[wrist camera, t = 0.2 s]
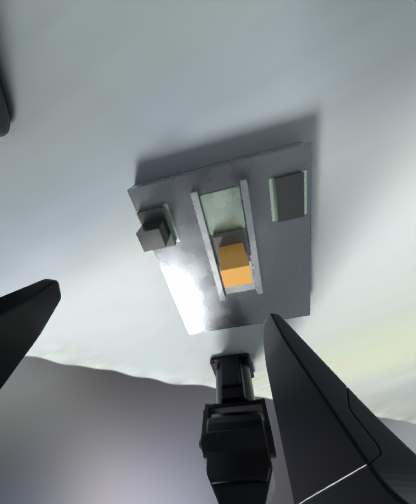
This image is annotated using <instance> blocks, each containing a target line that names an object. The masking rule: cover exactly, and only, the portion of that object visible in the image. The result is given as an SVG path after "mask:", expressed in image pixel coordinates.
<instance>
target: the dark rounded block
mask: <svg viewBox="0 0 416 504" xmlns="http://www.w3.org/2000/svg"><path fill="white" fill-rule="evenodd" d="M9 129H10V116H9V112H8V108H7V105H6V101H5V98H4V95H3V91H2V88H1V85H0V137H2V136H5V135H6V134H7V133H8V132H9Z"/></svg>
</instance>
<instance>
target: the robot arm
mask: <svg viewBox="0 0 416 504" xmlns="http://www.w3.org/2000/svg"><path fill="white" fill-rule="evenodd" d="M60 299H61V293H60V288H59V283H58V281H56V280H51V279H44V280H41V281H39V282H36V283H34V284H32V285H29V286H27V287H24V288H22V289H19V290H17V291H15V292H12V293H10V294H7V295H5V296H2V297H0V389H1V388H2V386H3V385H4V384H5V382H6V381H7V379H8V378H9V377H10V375H11V374H12V372H13V371H14V370H15V369H16V367H17V366H18V364H19V363H20V362H21V360H22V359H23V358H24V356H25V355H26V353H27V352H28V351H29V349H30V348H31V347H32V345H33V344H34V342H35V341H36V340H37V338H38V337H39V335H40V334H41V332H42V330H43V329H44V327H45V325H46V324H47V322H48V320H49V319H50V317H51V315H52V313H53V312H54V310H55V308H56V306H57V305H58V303H59V301H60ZM263 340H264V350H265V360H266V367H267V372H268V377H269V382H270V387H271V392H272V397H273V402H274V406H275V411H276V416H277V421H278V426H279V431H280V435H281V440H282V445H283V450H284V455H285V460H286V465H287V469H288V475H289V479H290V484H291V489H292V494H293V499H294V504H416V454H415V453H414V452H413V451H412V450H411V449H409V448H408V447H407V446H406V445H405V444H404V443H403V442H402V441H401V440H400V439H399V438H398V437H397V436H396V435H395V434H394V433H393V432H391V430H390V429H388V428H387V427H386V426H385V425H384V424H383V423H382V422H381V421H380V420H379V419H378V418H377V417H376V416H375V415H374V414H373V413H372V412H371V411H370V410H369V409H368V408H367V407H366V406H365V405H364V404H363V403H362V402H361V401H360V400H359V399H358V398H357V396H356V395H355V394H354V393H353V392H352V391H351V390H350V389H349V388H347V387H346V385H345V384H344V383H343V382H342V381H341V380H340V379H339V378H338V376H337V375H336V374H335V373H334V372H333V371H332V370H331V369H330V368H329V367H328V366H327V365H326V364H325V363H324V362H323V361H322V360H321V358H320V357H319V356H318V355H317V354H316V353H315V352H314V351H313V350H312V349H311V348H310V347H309V346H308V345H307V344H306V343H305V342H304V340H303V339H302V338H301V337H300V336H299V335H298V334H297V333H296V332H295V331H294V330H293V329H292V328H291V327H290V326H289V325H288V324H287V322H286V321H285V320H284V319H283V318H282V317H281V316H280V315H278V314H273V313H270V314H269V315H268V317H267V319H266V321H265V323H264V325H263ZM210 364H211V366H212V369H213V371H214V374H215V376H216V393H217V394H216V396H217V403H216V404H209V403H208V404H205V410H204V412H203V425H202V432H201V437H200V441H199V447H200V448H201V450H202V452H203V457H204V462H205V463H206V464H207V476H208V478H209V480H210V483H211V486H212V488H213V491H214V493H215V495H216V498H217V501H218V503H219V504H271V502H272V498H273V493H274V489H275V482H274V476H273V469H272V463H271V460H272V459H277V457H276V451H275V446H274V441H273V436H272V431H271V426H270V422H269V418H268V413H267V408H266V404H265V399H264V398H261V399H257V400H255V397H254V391H253V385H252V379H251V378H253V377H254V374H253V369H252V365H251V361H250V356H249V354H239V355H232V356H225V357H218V358H212V359H210ZM263 419H264V420H263Z"/></svg>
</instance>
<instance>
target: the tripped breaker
mask: <svg viewBox="0 0 416 504" xmlns="http://www.w3.org/2000/svg"><path fill="white" fill-rule="evenodd" d="M213 241H214V245H215V249H216V252H217V256H218V260H219V264H220V272H221V276H222V280H223V284H224V288H226V287H232V286H237V285H243V284H248V283H252V277H251V271H250V265H249V259H248V253H247V247H246V241H245V235H244V230H243V228H242V229H237V230H232V231H228V232H223V233H218V234H214V235H213Z"/></svg>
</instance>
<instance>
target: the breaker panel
mask: <svg viewBox="0 0 416 504" xmlns="http://www.w3.org/2000/svg"><path fill="white" fill-rule="evenodd" d="M127 191H128V193H129V196H130V198H131V200H132V202H133V205H134V207H135V209H136V211H135V213H136V215H137V218H138V220H139V222H140V225H141V228H140V229H139V230H138V232H137V233H136V235H137V237H138V239H139V241H140V243H141V245H142V248H143V250H144V252H145V251H150V250H153V251H154V253H155V256H156V258H157V260H158V263H159V265H160V267H161V270H162V272H163V274H164V277H165V279H166V281H167V284H168V286H169V288H170V291H171V293H172V295H173V298H174V300H175V302H176V304H177V307H178V309H179V311H180V314H181V316H182V318H183V321H184V323H185V325H186V328H187V330H188V332H189V334H194V333H201V332H207V331H213V330H220V329H226V328H232V327H238V326H245V325H251V324H257V323H264V322H265V321H266V319H267V317H268V315H269V314H270V313H273V314H278V315H280V316H281V317H282V318H283V319H289V318H295V317H301V316H308V315H310V241H311V143H308V142H299V143H295V144H291V145H287V146H284V147H280V148H276V149H272V150H268V151H264V152H260V153H257V154H253V155H249V156H245V157H241V158H237V159H233V160H230V161H226V162H222V163H218V164H214V165H210V166H206V167H203V168H199V169H195V170H191V171H187V172H183V173H179V174H175V175H172V176H168V177H164V178H160V179H156V180H152V181H148V182H145V183H141V184H137V185H134V186H132V187H131V188H130V189H128V190H127ZM242 228H243V230H244V235H245V241H246V247H247V253H248V259H249V265H250V271H251V277H252V283H248V284H243V285H237V286H232V287H226V288H224V284H223V280H222V276H221V272H220V264H219V260H218V256H217V252H216V249H215V245H214V241H213V235H214V234H218V233H223V232H228V231H232V230H237V229H242Z"/></svg>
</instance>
